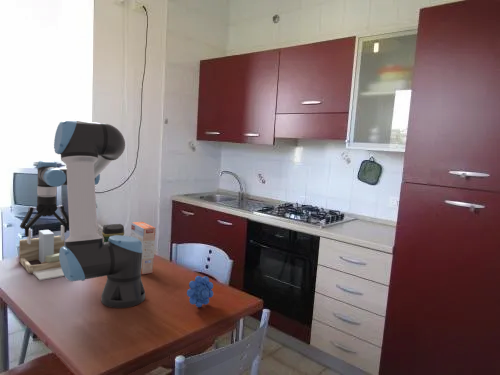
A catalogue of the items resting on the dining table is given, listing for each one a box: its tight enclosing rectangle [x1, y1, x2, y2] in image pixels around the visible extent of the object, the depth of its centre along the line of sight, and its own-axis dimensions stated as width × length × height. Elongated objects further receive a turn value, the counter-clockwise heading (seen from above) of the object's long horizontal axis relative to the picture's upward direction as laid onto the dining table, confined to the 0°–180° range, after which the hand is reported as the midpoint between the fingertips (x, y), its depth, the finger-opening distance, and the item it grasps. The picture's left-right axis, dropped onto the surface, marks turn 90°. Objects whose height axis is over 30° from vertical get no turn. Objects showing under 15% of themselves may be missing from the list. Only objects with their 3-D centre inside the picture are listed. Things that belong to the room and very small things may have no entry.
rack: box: [18, 235, 66, 274], centre depth 160 cm, size 18×18×10 cm
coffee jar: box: [101, 223, 125, 242], centre depth 167 cm, size 10×8×19 cm
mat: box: [32, 267, 65, 281], centre depth 149 cm, size 10×12×1 cm
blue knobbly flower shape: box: [186, 275, 214, 308], centre depth 128 cm, size 12×7×12 cm, turn 134°
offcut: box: [46, 253, 60, 263], centre depth 157 cm, size 3×6×2 cm, turn 149°
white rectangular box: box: [38, 229, 55, 264], centre depth 162 cm, size 8×4×14 cm, turn 44°
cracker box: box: [130, 221, 156, 276], centre depth 162 cm, size 14×6×21 cm, turn 39°
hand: (46, 241), depth 162 cm, fingers open, 13 cm apart
